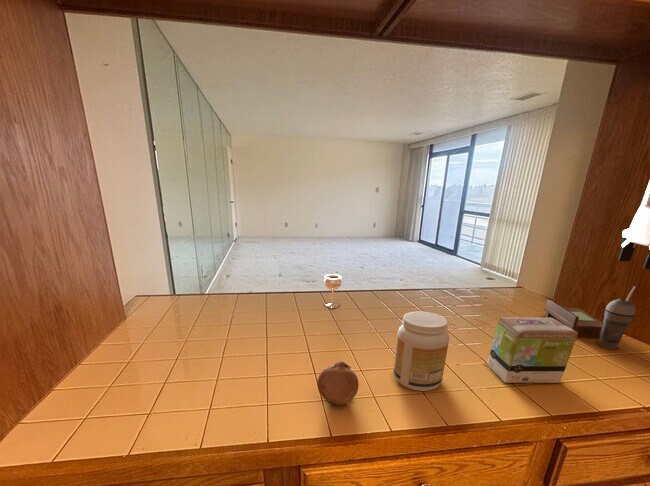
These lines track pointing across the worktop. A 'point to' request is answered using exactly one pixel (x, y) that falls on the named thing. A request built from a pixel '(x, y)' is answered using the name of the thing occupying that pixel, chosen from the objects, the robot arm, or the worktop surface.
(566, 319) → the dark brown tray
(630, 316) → the beverage cup
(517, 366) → the tea box
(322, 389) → the onion
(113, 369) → the worktop surface
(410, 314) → the supplement tub
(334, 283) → the wineglass
